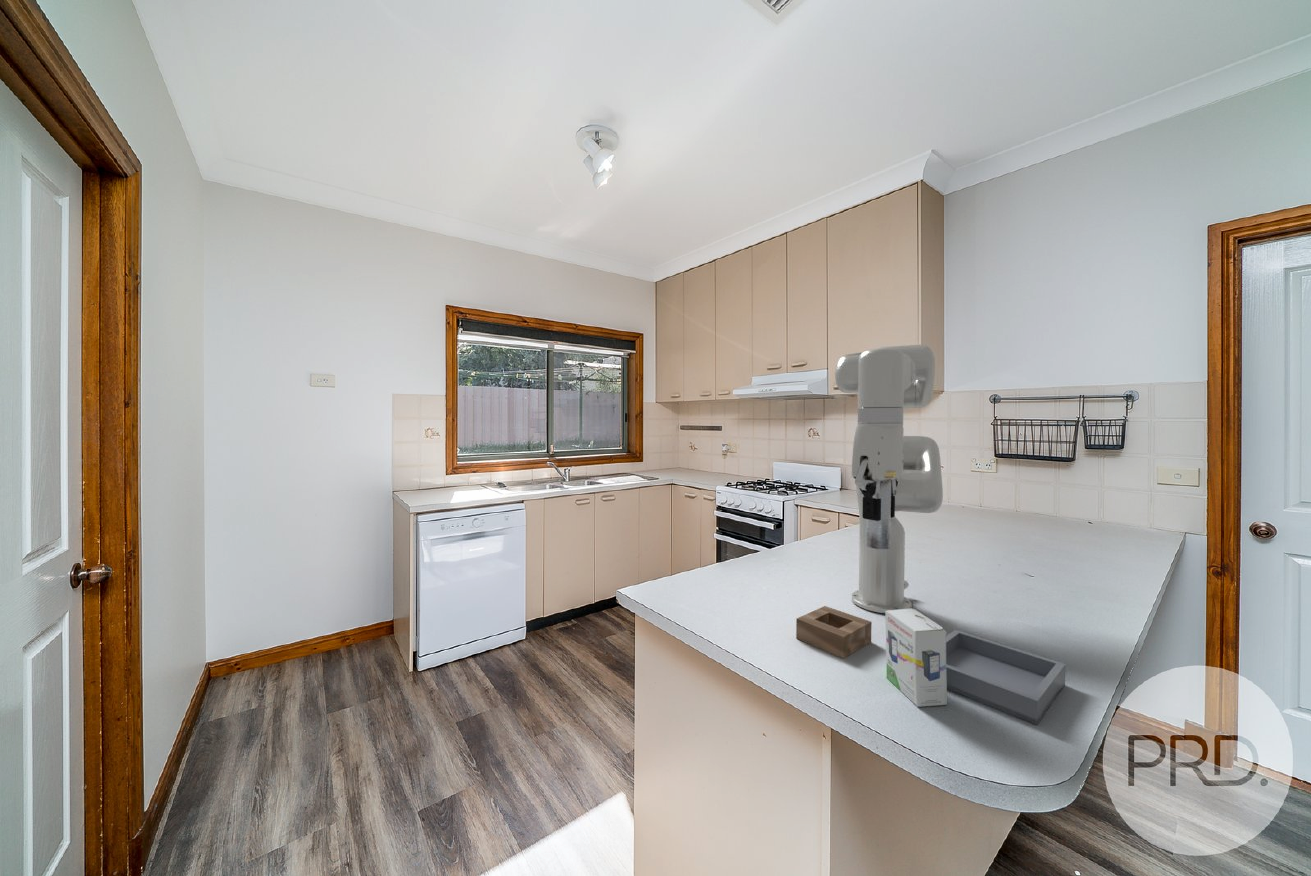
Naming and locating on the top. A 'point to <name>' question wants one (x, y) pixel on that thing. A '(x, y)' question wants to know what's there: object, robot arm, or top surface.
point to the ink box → (916, 656)
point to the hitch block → (834, 631)
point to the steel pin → (881, 529)
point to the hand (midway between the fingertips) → (878, 516)
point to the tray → (1002, 676)
